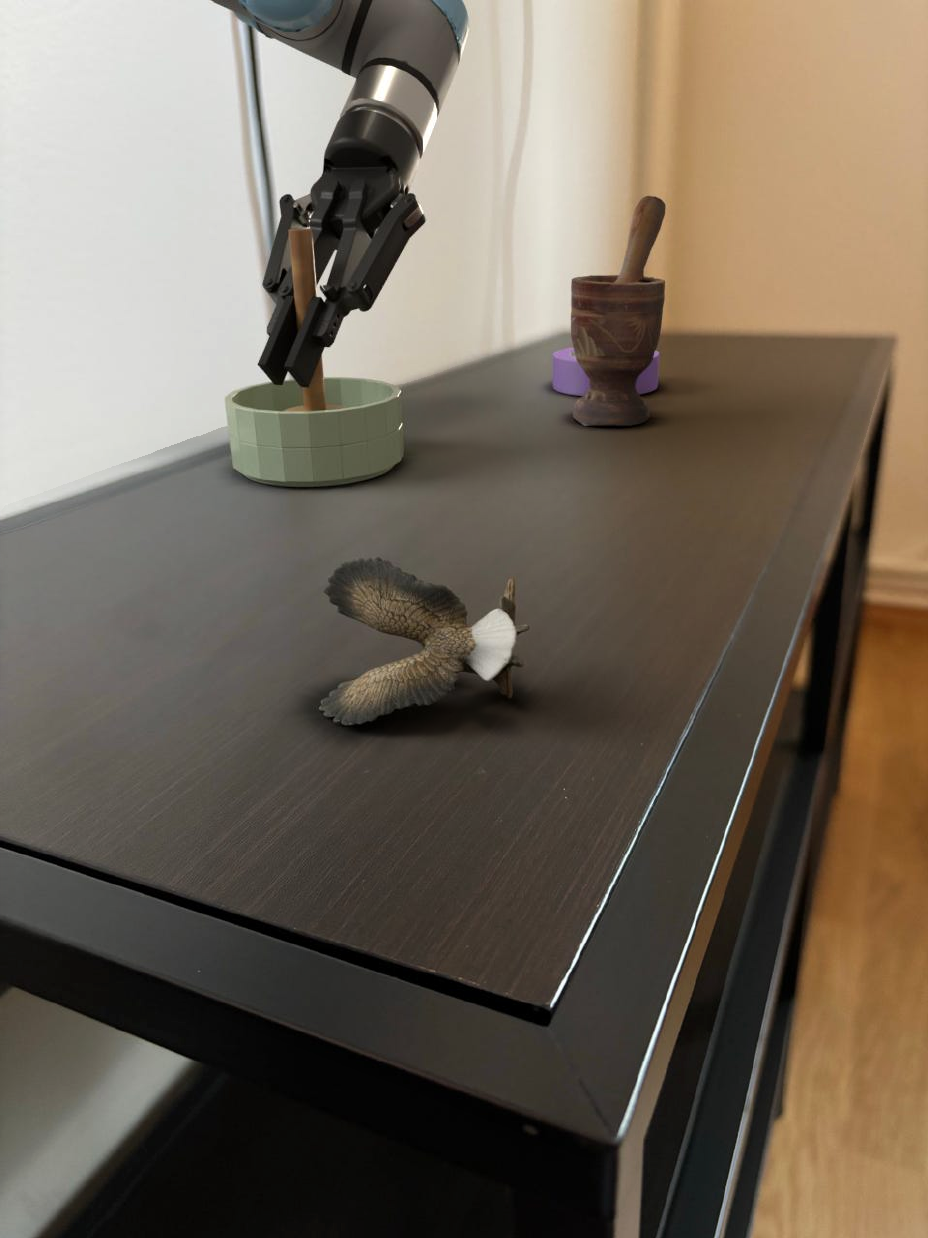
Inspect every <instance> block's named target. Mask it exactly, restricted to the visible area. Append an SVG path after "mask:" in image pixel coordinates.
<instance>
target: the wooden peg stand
mask: <svg viewBox="0 0 928 1238" xmlns="http://www.w3.org/2000/svg"><path fill="white" fill-rule="evenodd" d="M289 242H290V253H291V265H292V276H293V288H294V299H295V310H296V322H297V333H298V332H299V329H300V327H301V324H302V322H303V319H304V317H305V315H306V312H307V310H308V307H309V305H310V302H311V300H312V298H313V297H318V287H317V286H318V284H317V285H316V272H315V259H314V247H313V234H312V229H310V228H307V229H289ZM323 363H324V362H323V354H322V355H321V358H320V360H319V363H318V365H317V368H316V370H315V373H314V375H313V378H312V380H311V383H310V385H309V388H307V387H302V391H303V402H304V405H303V406H297V407H292V408H289V409H286V410H284V411H283V412H289V411H322V410H336V409H343V408H347V407H344V406H340V405H332V404H326V401H325V388H324V377H325V376H324V375H325V374H324V364H323Z"/></svg>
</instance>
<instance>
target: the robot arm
mask: <svg viewBox="0 0 928 1238" xmlns="http://www.w3.org/2000/svg"><path fill="white" fill-rule="evenodd" d="M210 1H212V2H213V3H214V4H216V5H218V6H220V7H223V8H225V9H227V10H230V11H232V12H233V13H234V15H235V17H236V18H237V19H238V20H239V21H240V22H242V23H244V24H246V25H248V26H250V27H252V28H253V29H255V30H256V31H257V32H259V33H260V34H261V35H263V36H265V38H268V39H269V40H270V39H272V40H276V41H279V42H280V43H282V44H285V45H286V46H288V47H291V48H292V49H295V50H297V51H299V52H301V53H303V54H304V55H306V56H309V57H311V58H313V59H315V60H317V61H320V62H322V63H324V64H326V65H329V66H331V67H332V68H334V69H337V70H339V71H341V72H342V73H344V74H346V75H348V76H350V77H352V78H354V79H355V81H354V83H353V86H352V87H351V90H350V93H349V95H348V97H347V99H346V100H345V104H344V106H343V108H342V111H341V112H340V114H339V119H338V120H337V122H336V124H335V127H334V129H333V131H332V134H331V136H330V137H329V140H328V143H327V145H326V148H325V149H324V150H325V151H324V153H323V154H324V155H323V165H322V166H323V167H322V174H321V176H320V177H319V178H318V179H317V180H316V181H314V183H313V184H312V186H311V188H310V191H309V193H308V194H306V195H303V196H301V197H299V198H296V199H294V197H293V195H292V194H291V193H286V194H283V195H282V196H281V197H280V198H279V203H278V204H279V210H280V211H279V212H280V219H279V222H278V226H277V230H276V233H275V236H274V240H273V244H272V247H271V251H270V254H269V258H268V262H267V265H266V269H265V273H264V275H263V280H262V283H261V285H262V288H263V289H264V290H265V292H266V293H267V294H268V296H269V297H270V299H271V300H272V301H273V302H274V304H275V307H274V309H273V312H272V314H271V317H270V318H269V321H268V324H267V326H266V334H267V335H268V338H267V340H266V343H265V345H264V348H263V350H262V353H261V355H260V357H259V359H258V362H257V366H258V367H259V368H260V370H261V371H262V373H264V374H265V375H266V377H267V378H268V379H269V380H270V382H273V384H274V385H283V382H284V380H286V377H287V375H288V373H289V374H290V376H291V377H292V379H295V381H296V382H297V383H298V384H299V386H300V387H307V388H309V385H310V383H311V380H312V378H313V375H314V373H315V370H316V368H317V365H318V363H319V360H320V358H321V355H322V356H323V353H324V350H325V348H331V347H332V345H333V344H334V343H335V341H336V338H337V335H338V334H339V331H340V328H341V325H342V324H343V321H344V318H345V317H348V315H350V313H351V312H352V311H355V310H359V311H360V312H363V313H366V312H369V311H370V310H371V309H372V308H373V306H374V304H375V302H376V300H377V298H378V297H379V295H380V293H381V291H382V290H383V288H384V286H385V285H386V282H387V281H388V279H389V277H390V275H391V274H392V271H393V270H394V268H395V266H396V263H397V262H398V261H399V259H400V257H401V256H402V253H403V251H404V249H405V248H406V246H407V244H408V242H409V241H410V239H411V238H412V237H413V236H414V235H415V234H416V233H417V232H418V231H419V230H420V229H421V227H423V226H424V225H425V223H426V221H427V217H426V215H425V213H424V211H423V208H422V206H421V205H420V202H419V200H418V198H417V196H416V194H415V193H413V192H410V189H411V187H412V184H413V183H414V182H413V181H414V179H415V176H416V174H417V171H418V169H419V166H420V161H421V159H422V157H423V155H424V153H425V150H426V148H427V145H428V143H429V140H430V138H431V134H432V132H433V129H434V126H435V124H436V122H437V120H438V116H439V115H440V112H441V109H442V107H443V104H444V102H445V100H446V97H447V95H448V93H449V90H450V88H451V86H452V83H453V80H454V78H455V76H456V73H457V71H458V68H459V65H460V63H461V62H460V61H462V56H463V53H464V50H465V46H466V44H467V40H468V36H469V29H470V19H469V13H468V10H467V7H466V5H465V2H464V0H210ZM308 228H309V229H312V234H313V247H314V259H315V272H316V285H317V286H318V284H319V282H320V280H321V278H322V277H323V275H324V273H325V270H326V269H327V266H328V265H329V263H330V260H331V259H332V257H333V256H334V259H333V262H332V266H331V268H330V270H329V271H330V272H329V275H328V278H327V281H326V284H323V285H322V284H321V285H319V289H320V292H321V294H323V296H324V297H325V300H324V299H323V298H322V296H317V297H313V298H312V300H311V302H310V305H309V307H308V310H307V312H306V315H305V317H304V319H303V322H302V324H301V327H300V329H299V332H298V333H297V322H296V310H295V299H294V288H293V276H292V265H291V253H290V242H289V229H308ZM335 251H336V252H335ZM334 253H335V255H334Z"/></svg>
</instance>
